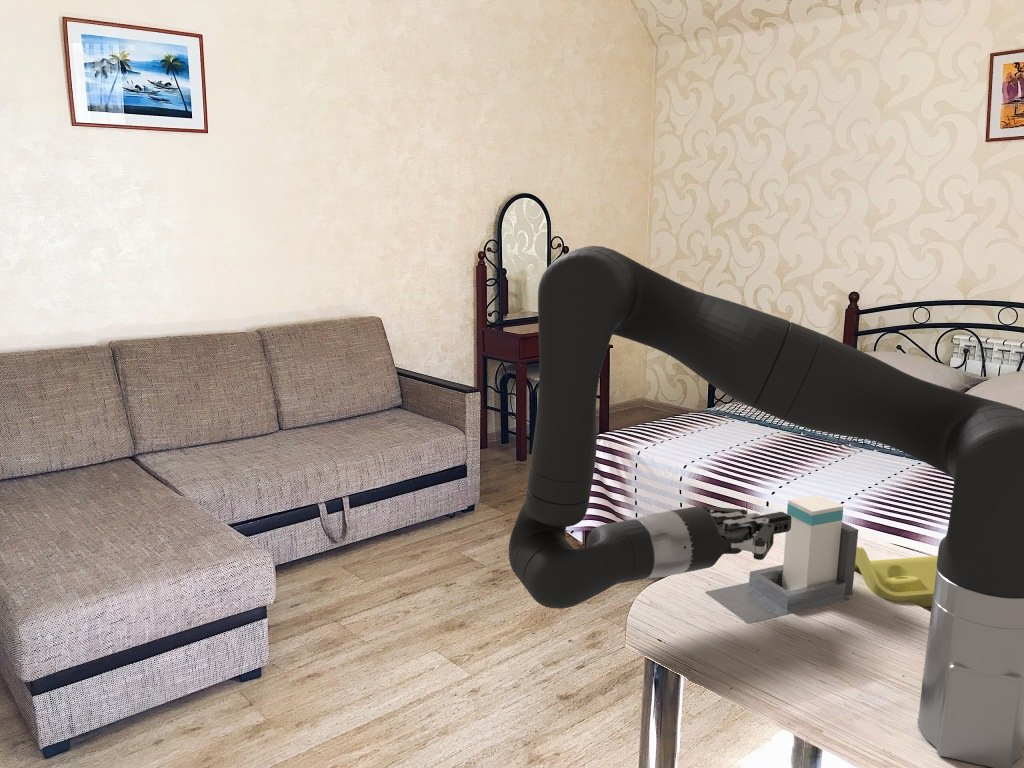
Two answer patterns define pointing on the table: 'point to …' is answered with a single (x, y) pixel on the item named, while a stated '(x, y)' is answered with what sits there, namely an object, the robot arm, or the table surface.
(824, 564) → the block
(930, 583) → the plastic component
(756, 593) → the rail plate
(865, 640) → the table surface
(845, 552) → the end stop
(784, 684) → the table surface
